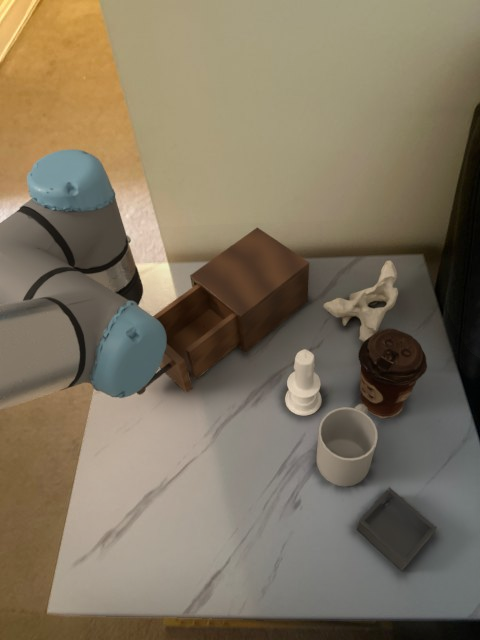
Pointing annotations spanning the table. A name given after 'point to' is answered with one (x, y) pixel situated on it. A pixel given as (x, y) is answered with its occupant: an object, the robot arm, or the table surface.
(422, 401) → the table surface
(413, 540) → the tray
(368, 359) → the coffee cup
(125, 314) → the robot arm
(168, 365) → the drawer
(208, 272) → the cabinet
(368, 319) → the bone
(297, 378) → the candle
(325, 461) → the cup
